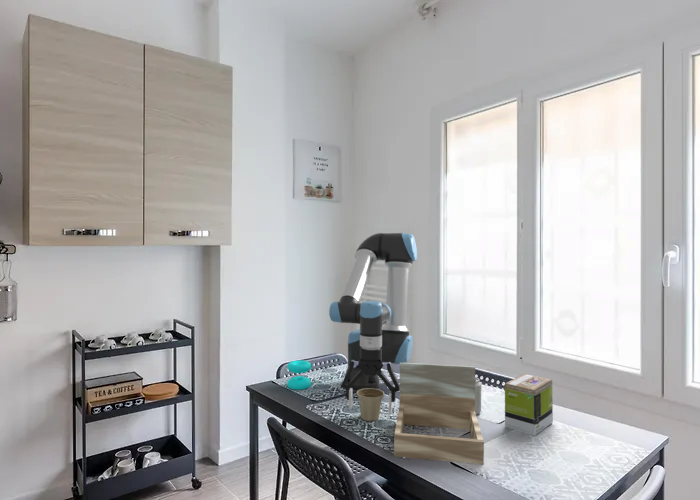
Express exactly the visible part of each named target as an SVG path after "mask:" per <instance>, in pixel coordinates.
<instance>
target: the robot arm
mask: <svg viewBox="0 0 700 500" xmlns="http://www.w3.org/2000/svg"><path fill="white" fill-rule="evenodd" d="M417 259H418V249H417V243H416V238H415V236H414V235H413V234H412V233H405V232H398V233H397V232H393V233H389V232H388V233H387V232H386V233H383V232H378V233H374V234H372V235H370V236H368V237H367V238H366V239H364V240H363V241H362V242H361V243H360V245H359V246H358V247H357V249H356V251H355V253H354V260H355V261H354V263H353V265H352V268H351V271H350V272H349V273H350V274H349V276H348V278H347V281H346V283H345V286H344V289H343V292H342V295H341V297H340V299H339V301H333V302H332V303H331V304H330V305H329V310H328V312H329V313H328V314H329V319H330V321H332V322H334V323H340V324H359V329H354V330H353V331H351V332H349V333H348V336H347V337H348V338H347V367H346V368H347V369H346V371H345V373H344V374H345V375H344V377H343V379H342V382H341V384H340V388H341V389H344V390H345V398H346V400H348V410H350V411H351V410H352V409H353V391H358V390H360V389H365V388H373V389H378V388H379V387H380V382H381V381H382V382H383V383H384V385H385V386H386V387H387V388H388V390H389V393H388V413H390V414H391V413H392V411H393V403H395V401H396V393H398V392H400V382H399V380H398V378H397V377H396V374H395V371H394V370H393V367H392V365H400V363H409V361H410V359H411V356H412V352H413V347H414V346H413V345H414V337H413V336H412V335H411V334H410V330H409V329H408V328H407V310H408V309H407V308H408V307H407V306H408V289H409V287H408V286H409V270H410V269H411V268H412V267H413V262H415V261H417ZM377 261H384V265H385V266H386V267H387V282H386V283H387V284H386V300H385V302H380V301H377V300H375V301H374V300H368V301H367V300H366V301H362V302H361V300H362V297H363V296H364V295H363V294H364V292H365V289H366V285H367V283H368V280H369V277H370V274H371V272H372V269H373V266H375V265H376V264H377ZM383 325H384V326H383ZM383 368H384V369H385V370H387V372H388V375H389V377H390V379H391V380H392V381H390V379H389V378H388V377H387V376H386V375H385V373H384V371H382V369H383ZM380 380H381V381H380ZM391 382H392V383H393V384H392V383H391Z"/></svg>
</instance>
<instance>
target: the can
mask: <svg viewBox="0 0 700 500" xmlns="http://www.w3.org/2000/svg"><path fill="white" fill-rule="evenodd" d="M475 413H476V416H477V415H479V413H482V383H481V382H480V378H478V377H476V376H475Z"/></svg>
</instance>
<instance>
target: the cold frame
mask: <svg viewBox="0 0 700 500" xmlns="http://www.w3.org/2000/svg"><path fill="white" fill-rule="evenodd" d="M475 377H476V366H474V365H473V366H470V365H469V366H468V365H453V364H452V365H451V364H433V363H417V362H416V363H414V362H413V363H412V362H407V363H400V364H399V385H400V391H399V394H398V395H399V399H398V400H399V401H398V402H399V405H398V411H397V418H396V423H395V427H394V428H395V430H394V435H393V436H394V437H393V439H394V440H393V441H394V446H393V448H394V449H393V454H394V455H393V457H399V458H408V459H418V460H419V459H420V460H429V461H443V462H450V463H451V462H452V463H462V464H463V463H464V464H473V465H474V464H475V465H484V464H485V442H484V438H483V434H482V430H481V428H480V427H481V426H480V424H479V420H478V418H477V415H476V413H475ZM404 425H407V426H418V427H420V426H421V427H431V428H445V429H455V430H456V429H458V430H469V432H470V436H471V438H465V437H454V436H452V437H451V436H442V435H441V436H440V435H428V434H427V435H426V434H416V433H404Z"/></svg>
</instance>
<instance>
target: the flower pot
mask: <svg viewBox="0 0 700 500" xmlns="http://www.w3.org/2000/svg"><path fill="white" fill-rule="evenodd" d="M356 395H357V398H358V401H359V402H358V403H359V412H360V418H361V419H362V420H364V421H367V422H372V421H374V422H375V421H378V420H379V419H380V415H381V414H380V413H381V407H382V400H383V398H384V395H385V392H384V391H383V390H381V389H378V388H376V389H373V388H365V389H360V390H356Z"/></svg>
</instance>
